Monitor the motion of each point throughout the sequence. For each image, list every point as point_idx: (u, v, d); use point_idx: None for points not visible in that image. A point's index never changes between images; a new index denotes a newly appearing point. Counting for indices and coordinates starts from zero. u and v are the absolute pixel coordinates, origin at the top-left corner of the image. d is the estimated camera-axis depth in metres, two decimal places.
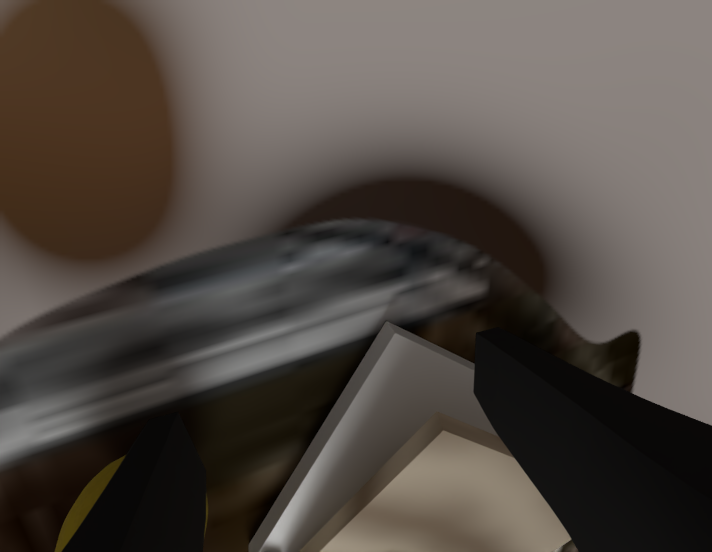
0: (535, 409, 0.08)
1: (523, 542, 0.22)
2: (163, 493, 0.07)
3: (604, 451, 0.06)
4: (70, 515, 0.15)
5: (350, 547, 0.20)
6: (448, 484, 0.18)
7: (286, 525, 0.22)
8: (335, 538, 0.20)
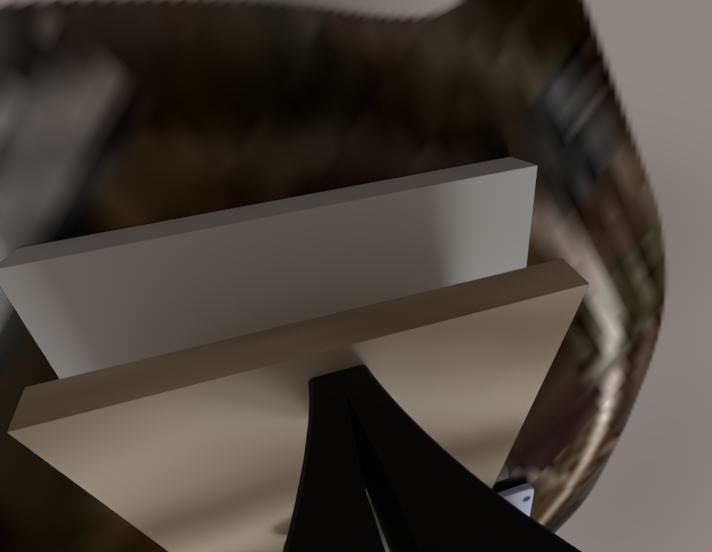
0: (369, 460, 0.07)
1: (464, 420, 0.13)
2: None
3: (401, 521, 0.06)
4: None
5: (217, 546, 0.14)
6: (199, 456, 0.10)
7: None
8: None
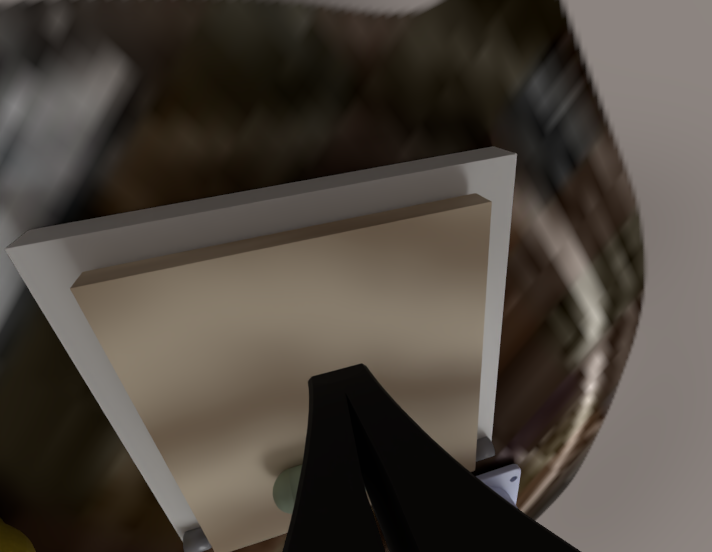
0: (369, 460, 0.07)
1: (423, 345, 0.15)
2: None
3: (400, 521, 0.06)
4: None
5: (215, 480, 0.15)
6: (201, 345, 0.12)
7: (176, 504, 0.17)
8: (180, 483, 0.15)
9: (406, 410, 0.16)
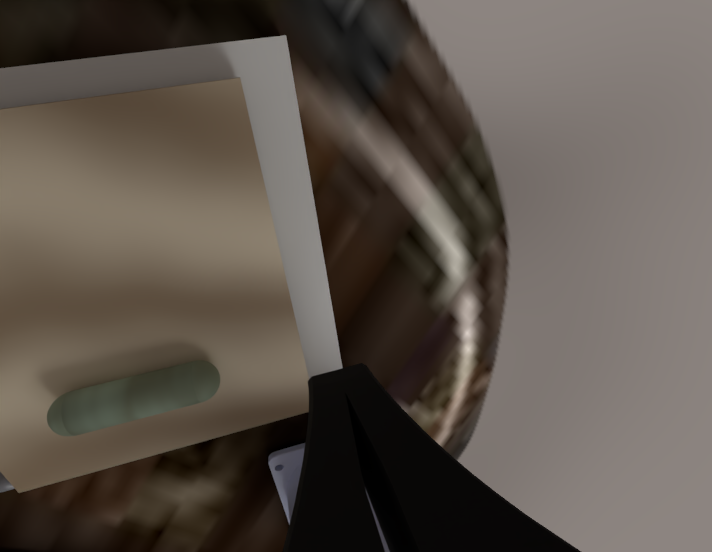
0: (369, 460, 0.07)
1: (205, 252, 0.14)
2: None
3: (400, 520, 0.06)
4: None
5: None
6: None
7: None
8: None
9: (207, 331, 0.15)
